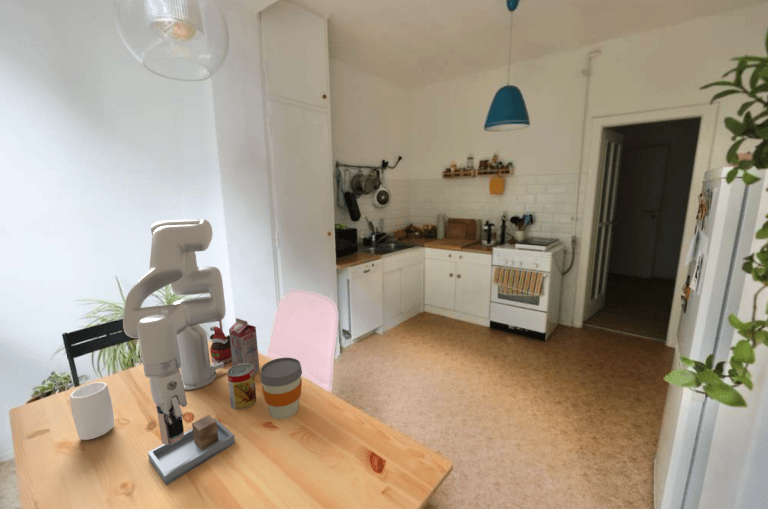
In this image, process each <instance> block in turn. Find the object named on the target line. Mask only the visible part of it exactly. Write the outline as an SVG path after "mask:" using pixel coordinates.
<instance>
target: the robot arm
mask: <svg viewBox="0 0 768 509" xmlns="http://www.w3.org/2000/svg"><path fill="white" fill-rule="evenodd" d="M150 231H151V235H152V237H151V245H150V247H151V248H150V257H149V258H150V259H149V269H148V271H147V272H146V273H145V274H144V275H143V276H142V277H141V278H139V279H138V280H137V281H136V282H135V284H134V285H133V286H132V288H131V289H130V290H129V292H128V293H127V295H126V298H125V302H124V310H123V317H122V326H123V331H124V333H125V335H126V336H128V337H129V338H133V339H138V341H139V347H140V348H139V349H140V353H141V360H142V365H143V371H144V372H143V373H144V377H146V378H149V386H150V387H149V388H150V393H151V398H152V401H153V403H154V404H155V405H156V403H157V404H158V405H159V407H160V409H161V411H162V412H163V413H164V414H166V415H167V419H168V423H167V428H168V434H169V438H173V437H175V436H177V435H179V434H181V433H182V432H183V431H185V428H184V422H183V416H184V415H183V411H182V409H181V407H182V408H184V407H186V406H187V405H188V401H187V396H186V391H190V390H196V389H201V388H204V387H205V386H208V385H210V384H211V383H212V382H214V380H216V378H217V373H216V371H217V370H218V369H222V368H224V367H225V362H224V363H223V362H221V363H217V362H215V363H214V362H212V363H211V360H210V353H209V352H210V350H209V343H208V335H207V332H206V330H205V329H204V328H203V327H202V326H201V325H202V324H210V323H215V322H219V321H220V320H223V319H224V318H225V316H226V301H225V294H224V293H225V291H224V282H223V276H222V273H221V270H220V269H219V268H218V267H216V266H200V267H199V266H198V262H197V254H196V253H197V252H204V251H206V250H208V248H209V247H210V245H211V242H212V239H213V228H212V225H211V223H210V222H209V221H208V220H207V219H205V218H204V219H174V220H173V219H172V220H169V219H168V220H162V221H157V222H154V223H153V224H152V225H151V228H150ZM169 285H170V287H171V290H172V293H173V294H174V295H175V296H179V297H182V296H184V297H185V296H194V295H202V294H207V295H208V296H200V297H191V298H189V297H188V298H182V299H179V300H176V301H174V302H172V304H165V305H161V304H160V305H156V306H155V305H153V306H147V307H145V306H144V307H142V306H143V303H144V302H145V300H146V299H147V298H148V297H150V295H152V294H153V293H155V292H156V291H159V290H162V289H163V288H165V287H167V286H169ZM179 404H180V405H179ZM170 408H173V409H171V410H170ZM173 412H174V415H173V416H172V418H171V415H170V414H171V413H173Z"/></svg>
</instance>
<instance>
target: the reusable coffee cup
mask: <svg viewBox="0 0 768 509" xmlns="http://www.w3.org/2000/svg"><path fill="white" fill-rule="evenodd" d="M259 373H260V376H259V378H260V382H261V385H262V386H261V391H262V394H263V398H264V399H263V400H264V402H265V403H266V405H267V408H268V412H269V416H270V417H271V418H272V419H275V420H284V419H288V418H291V417H293V416H294V415H295V414H296V413H297V412H298V411H299V406H300V404H299V403H300V397H301V395H302V383H303V381H302V375H303V374H302V373H303V370H302V363H301V361H300V360H298V359H297V358H293V357H278V358H275V359H272V360H269V361H267V362H266V363H264V364H263V365H262V366H261V368H260V372H259Z"/></svg>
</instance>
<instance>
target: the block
mask: <svg viewBox="0 0 768 509" xmlns="http://www.w3.org/2000/svg"><path fill="white" fill-rule="evenodd" d="M213 418H214V417H212V416H211V415H210V414H208V415H207V414H206V416H204V417H202V418H200V419H198V420H195V421H193V422H192V423H191V427H192V429H193V435H194V442H195V443H196V445H197V446H198V447H199V448H200V449H201V450H203V449H205V448H206V447H208V446H210V445H212V444H213V443H215V442H217V441H218V431H217V423H216V421H215V420H214V419H213Z"/></svg>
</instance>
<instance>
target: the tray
mask: <svg viewBox="0 0 768 509" xmlns="http://www.w3.org/2000/svg"><path fill="white" fill-rule="evenodd" d="M212 418H213V419H214V420H215V421H216V423H217V431H218V441H217V442H215V443H213V444H212V445H210V446H208V447H206V448H205V449H203V450H201V449H200V448H199V447H198V446H197V445H196V443H195V442H194V435H193V428H192V429H189V430H187V431H186V432H184V436H183V437H182V439H181V440H179V441H178V442H176V443H174V444H170V445H165V444H163V443H162V444H161V445H159V446H157V447H155V448H153V449H151V450H149V451H147V457H148V461H149V462H150V464H151V465H152V466H153V468H154V470H155V471H156V472H157V474H158V476H160V479H162V482H163V483H164V484H165V485H166V486H168V485H170V484H171V483H172V482H174V481H176V480H177V479H179V478H181V477H182V476H184V475H185V474H187V473H189V472H191V471H192V470H193V469H195V468H197V467H199V466H200V465H202V464H203V463H205V462H206V461H208V460H210V459H211V458H213V457H215V456H217V455H219V454H220V453H222V452H224V451H225V450H227V449H228V448H230V447H231V446H233V445H235V444H236V441H235V440H236V439H235V435H234V433H233V432H231V431H230V430H229V429H228V428H227V427H226V426H224V425H223V424H222V423H221V422H220V421H219V420H217V418H215V417H212Z"/></svg>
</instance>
